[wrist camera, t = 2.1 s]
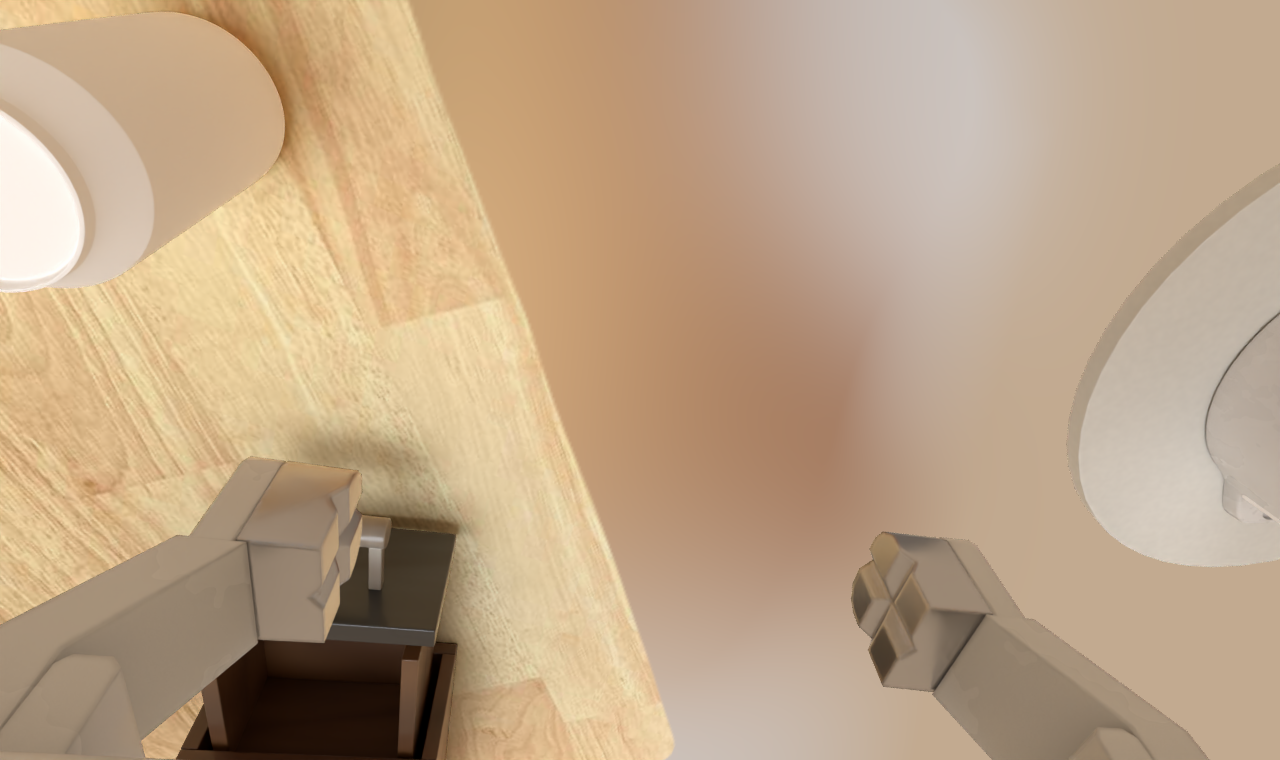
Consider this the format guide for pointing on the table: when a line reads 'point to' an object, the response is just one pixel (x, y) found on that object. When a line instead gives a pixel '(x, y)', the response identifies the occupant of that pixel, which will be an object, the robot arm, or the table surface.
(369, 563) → the drawer
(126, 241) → the beverage can
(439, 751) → the cabinet
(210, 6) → the table surface
